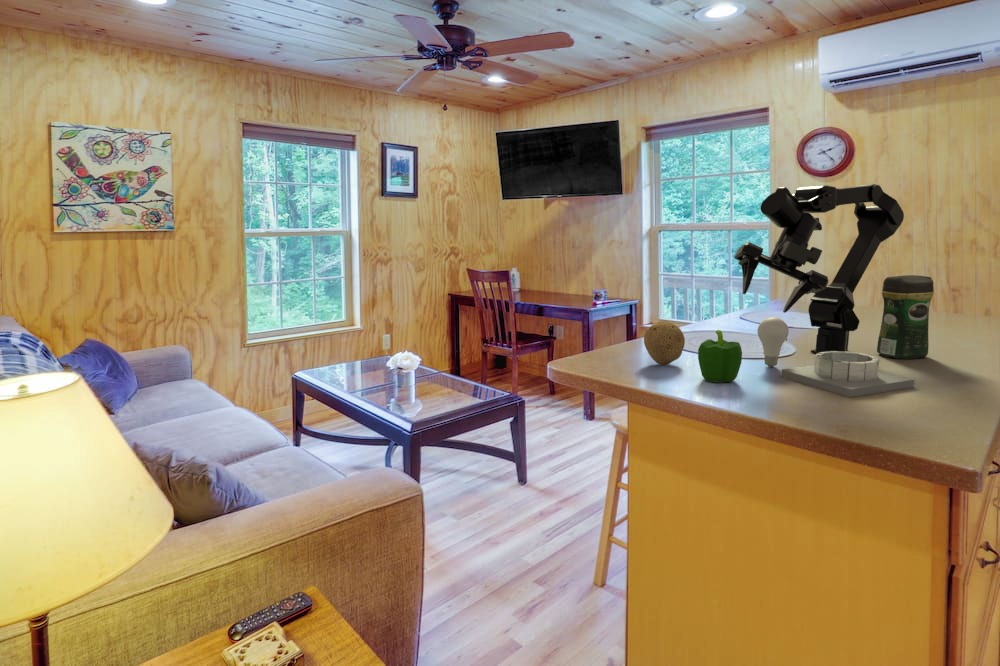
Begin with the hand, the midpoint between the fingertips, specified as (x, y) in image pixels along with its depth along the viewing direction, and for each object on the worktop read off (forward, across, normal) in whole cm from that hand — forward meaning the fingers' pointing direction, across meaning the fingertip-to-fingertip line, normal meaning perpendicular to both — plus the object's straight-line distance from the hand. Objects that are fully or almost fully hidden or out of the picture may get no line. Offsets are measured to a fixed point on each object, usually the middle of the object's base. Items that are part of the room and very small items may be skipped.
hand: (764, 303), depth 127 cm
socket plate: (+10, +18, -8) cm, 22 cm away
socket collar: (+9, +18, -8) cm, 21 cm away
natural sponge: (+20, -12, +7) cm, 25 cm away
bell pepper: (+20, -3, -6) cm, 22 cm away
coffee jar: (-6, +36, +14) cm, 39 cm away
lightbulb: (+11, +8, +4) cm, 14 cm away
